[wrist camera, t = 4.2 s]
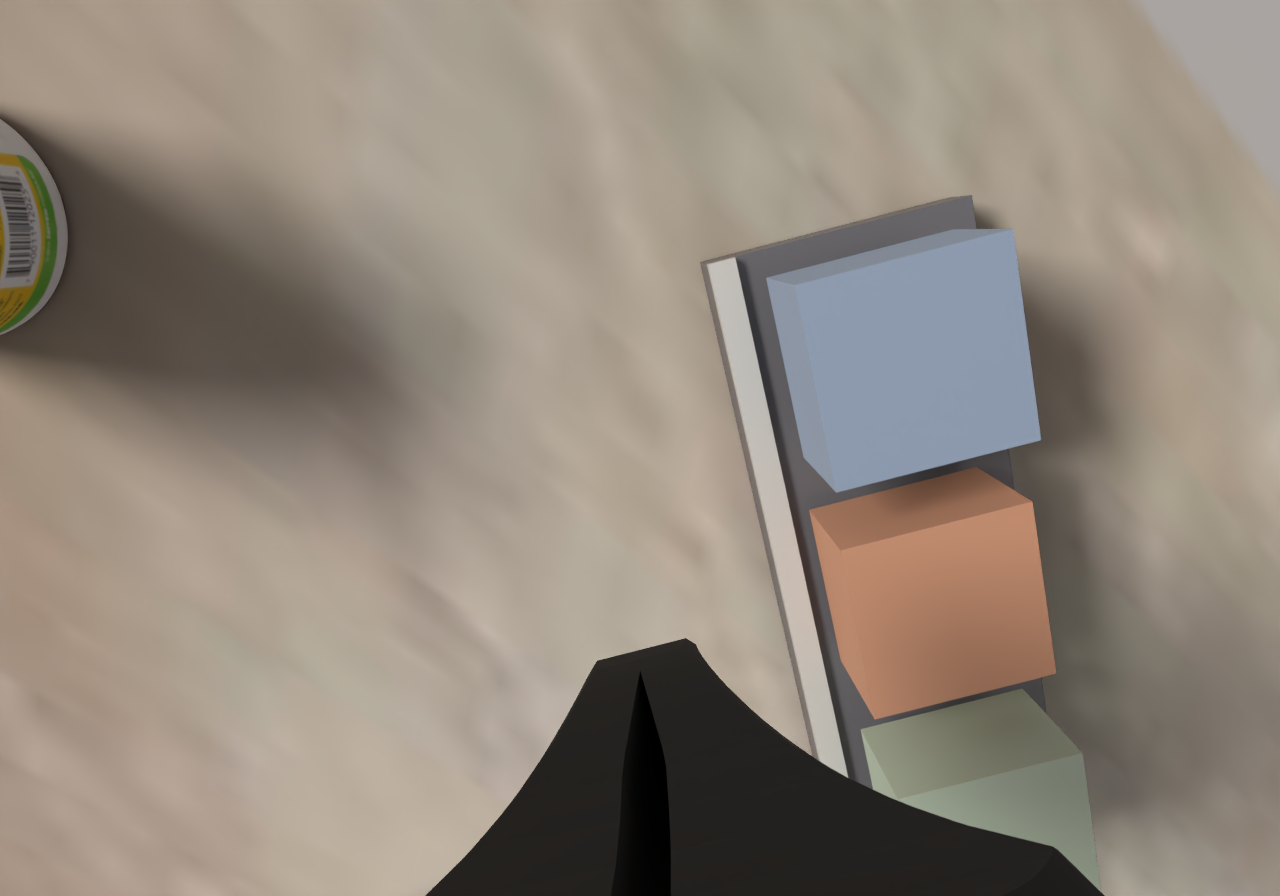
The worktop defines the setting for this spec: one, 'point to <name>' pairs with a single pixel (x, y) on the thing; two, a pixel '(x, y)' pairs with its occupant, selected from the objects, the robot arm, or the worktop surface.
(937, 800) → the sage key
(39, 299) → the supplement bottle
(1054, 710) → the worktop surface
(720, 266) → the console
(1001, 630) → the terracotta key
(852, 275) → the light blue square block
